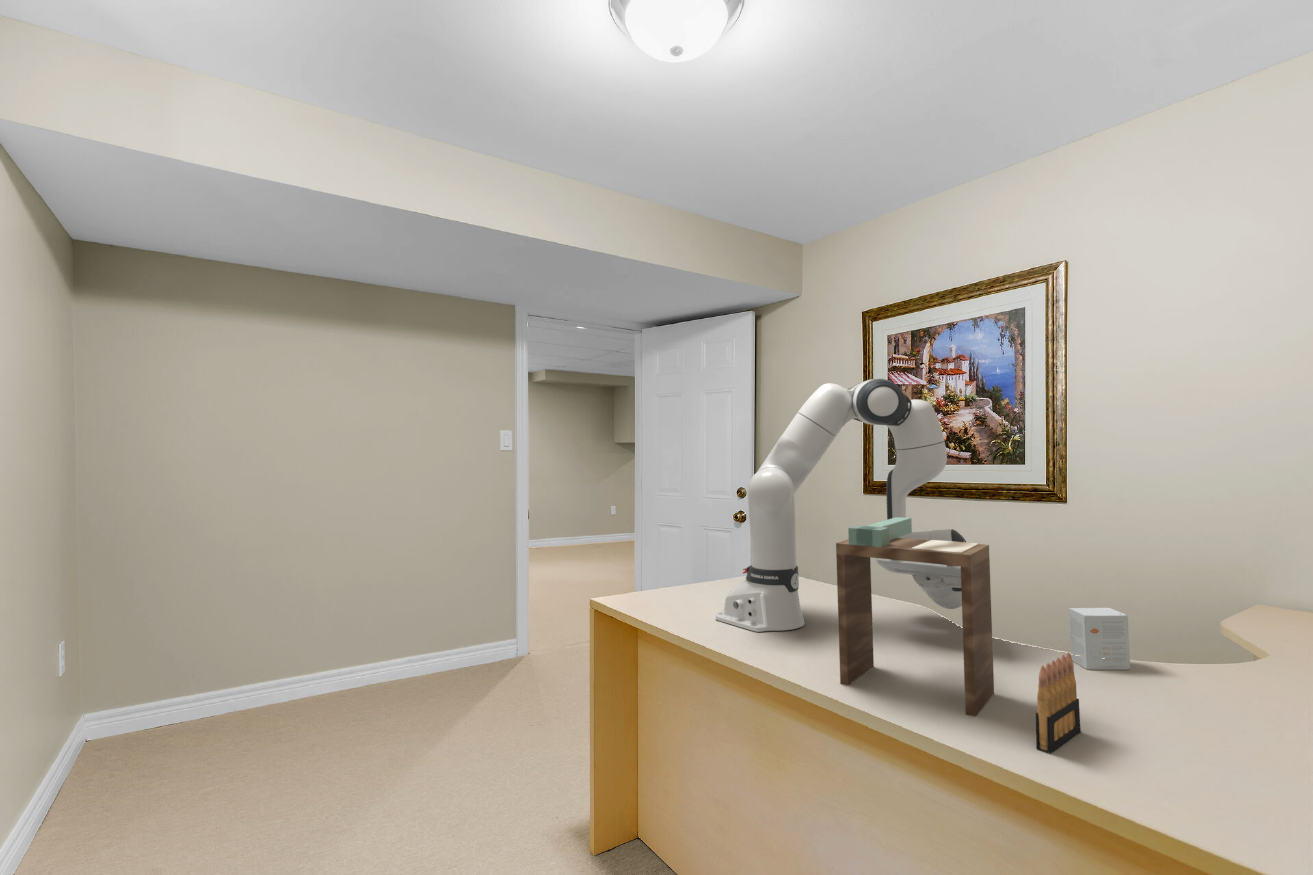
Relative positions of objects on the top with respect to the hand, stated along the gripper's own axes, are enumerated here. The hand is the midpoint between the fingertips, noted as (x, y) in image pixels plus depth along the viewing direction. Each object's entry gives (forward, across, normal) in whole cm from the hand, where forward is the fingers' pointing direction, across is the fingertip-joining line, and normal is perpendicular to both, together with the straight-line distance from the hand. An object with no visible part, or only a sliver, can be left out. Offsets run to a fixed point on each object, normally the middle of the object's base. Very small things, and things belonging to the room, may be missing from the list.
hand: (914, 549), depth 131 cm
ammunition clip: (+12, +29, +32) cm, 45 cm away
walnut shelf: (+6, +6, +29) cm, 30 cm away
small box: (-22, +30, +12) cm, 39 cm away
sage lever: (+16, 0, +4) cm, 17 cm away
